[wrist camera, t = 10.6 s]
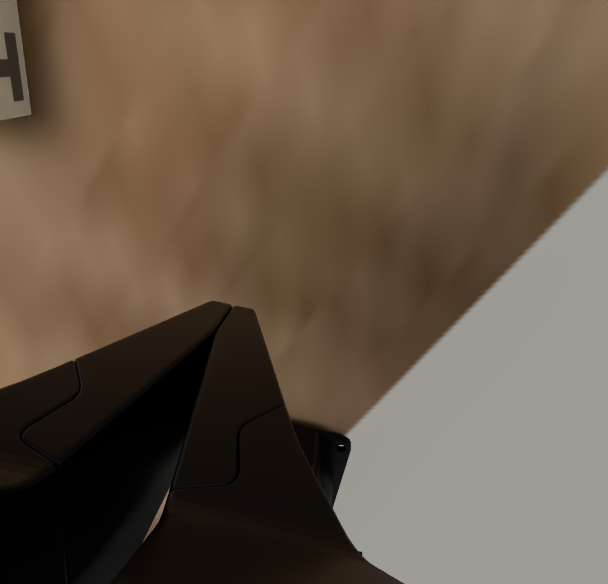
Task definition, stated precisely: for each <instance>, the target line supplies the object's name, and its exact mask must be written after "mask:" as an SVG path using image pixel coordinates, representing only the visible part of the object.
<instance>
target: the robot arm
mask: <svg viewBox="0 0 608 584" xmlns="http://www.w3.org/2000/svg"><path fill="white" fill-rule="evenodd" d="M338 445H344V446H338ZM350 451H351V441H350V439H348V438H347V437H345V436H341V435H337V434H332V433H328V432H323V431H318V430H314V429H309V428H304V427H300V426H295V425H292V423H291V420H290V417H289V414H288V411H287V408H286V407H285V402H284V399H283V396H282V393H281V390H280V387H279V384H278V381H277V378H276V375H275V372H274V369H273V365H272V362H271V359H270V356H269V353H268V350H267V347H266V344H265V341H264V338H263V335H262V332H261V329H260V325H259V322H258V319H257V316H256V313H255V311H254V310H253V309H249V308H245V307H240V306H234V307H233V308H232V306H231V305H230V304H226V303H221V302H217V301H210V302H208V303H205V304H203V305H201V306H198V307H196V308H194V309H191V310H189V311H187V312H184V313H182V314H180V315H177V316H175V317H173V318H170V319H168V320H166V321H163V322H161V323H159V324H156V325H154V326H152V327H149V328H147V329H145V330H142V331H140V332H138V333H135V334H133V335H130V336H128V337H126V338H123V339H121V340H119V341H116V342H114V343H112V344H109V345H107V346H105V347H102V348H100V349H98V350H95V351H93V352H91V353H88V354H86V355H84V356H81V357H79V358H77V359H76V360H75V361H69V362H67V363H65V364H62V365H60V366H58V367H55V368H53V369H51V370H48V371H46V372H43V373H41V374H38V375H36V376H33V377H31V378H28V379H26V380H23V381H21V382H18V383H15V384H12V385H10V386H7V387H4V388H1V389H0V584H404V583H402V582H400V581H399V580H397V579H395V578H394V577H392V576H390V575H388V574H387V573H385V572H384V571H382V570H380V569H378V568H377V567H375V566H374V565H372V564H371V563H369V562H368V561H367V560H366V559H365V558H364V557H362V552H359V551H357V549H356V548H355V547H354V545H353V544H352V543H351V541H350V540H349V538H348V537H347V535H346V533H345V531H344V529H343V528H342V526H341V524H340V522H339V520H338V518H337V516H336V514H335V512H334V511H333V505H334V502H335V499H336V495H337V492H338V489H339V485H340V483H341V479H342V476H343V473H344V470H345V467H346V463H347V460H348V457H349V454H350ZM170 485H171V486H170ZM169 487H170V490H169V494H168V497H167V500H166V503H165V507H164V510H163V513H162V515H161V518H160V520H159V522H158V524H157V525H156V527H155V528H154V529H153V531H152V532H151V533H150V534H149V536H148V537H147V538H146V539H145V541H144V542H143V540H144V538H145V536H146V534H147V532H148V530H149V528H150V526H151V524H152V522H153V520H154V518H155V516H156V514H157V512H158V510H159V508H160V506H161V504H162V501H163V499H164V497H165V495H166V493H167V491H168V489H169ZM142 542H143V543H142Z"/></svg>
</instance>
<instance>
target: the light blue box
mask: <svg viewBox="0 0 608 584" xmlns="http://www.w3.org/2000/svg"><path fill="white" fill-rule="evenodd" d="M28 115H32V114H31V107H30V99H29V91H28V84H27V76H26V68H25V61H24V53H23V45H22V38H21V30H20V22H19V15H18V7H17V0H0V120H6V119H11V118H17V117H22V116H28Z"/></svg>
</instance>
